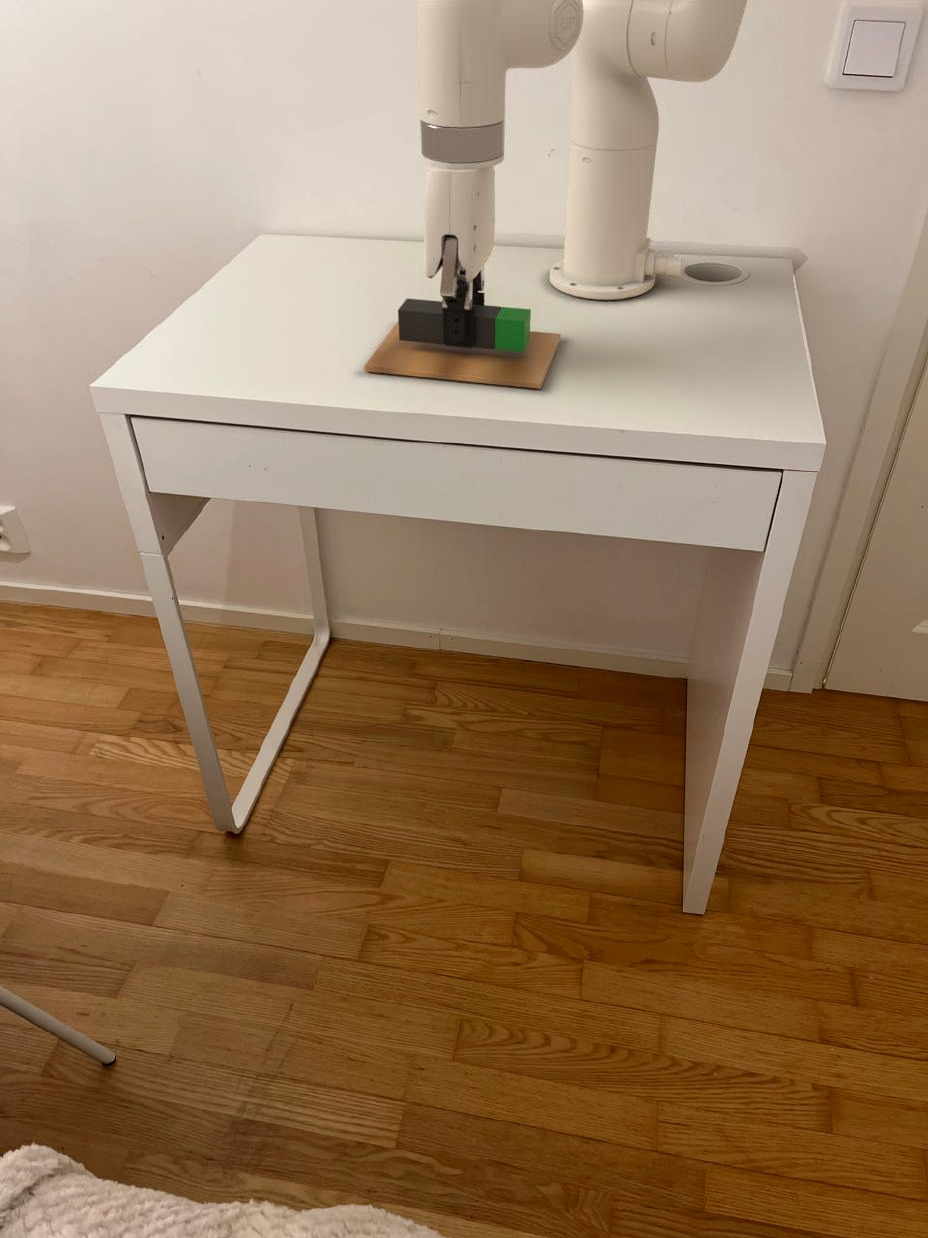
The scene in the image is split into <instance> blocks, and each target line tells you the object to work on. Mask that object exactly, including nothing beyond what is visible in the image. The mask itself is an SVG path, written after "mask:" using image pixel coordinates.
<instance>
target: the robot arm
mask: <svg viewBox="0 0 928 1238" xmlns="http://www.w3.org/2000/svg"><path fill="white" fill-rule="evenodd" d="M747 3H748V0H416V29H417V31H416V32H417V33H416V34H417V59H418V91H419V92H418V93H419V122H420V125H419V126H420V152H421V161H422V163H424V164H425V165H428V166H427V171H426V179H425V192H424V217H423V218H424V222H423V226H424V229H423V273H424V275H425V276H426V278H427V279H433V278H434V277H436V275H437V274H438V273H439V271H440V270H441V278H440V286H439V287H440V288H439V296H440V297H441V301H442V307H443V343H444V344H445V345H446V346H455V347H465V348H473V347H474V345H475V307H472V304H475V305H485V292H484V290H485V264H486V263H487V261H488V260H489V258H490V256H491V255H492V252H493V249H494V245H495V244H494V243H495V228H496V186H495V185H496V183H495V176H496V172H495V166H496V165H500V164H502V163H503V162H504V161H505V140H506V139H505V137H506V135H505V134H506V132H505V131H506V130H505V129H506V81H507V78H506V77H507V72H508V70H511V69H545V68H549V67H551V66H554V65H556V64H558V63H559V62H560V61H562V60H563V59H565V58H566V57H567V56H568V55H569V62H570V73H571V115H570V116H571V117H570V118H571V120H570V136H569V137H570V138H569V155H568V171H567V172H568V173H567V192H566V207H565V208H566V209H565V225H564V227H565V228H564V245H563V259H561V260H559V261H556V262H555V263H554V264H553V265H552V266H551V267H550V270H549V282H550V284H551V285H552V287H554V288H555V289H557V290H558V291H559V292H562V293H564V294H567V295H569V296H573V297H578V298H583V299H590V300H600V301H603V300H605V301H610V300H613V301H614V300H625V299H628V298H634V297H637V296H640V295H643V294H645V293H647V292H648V291H650V290H651V289H652V288H653V287H654V286H655V283H656V274H665V275H669V276H682V270H683V264H684V263H683V262H684V257H675V252H671V251H655V248H651V237H648V227H649V220H650V219H649V218H650V211H651V201H652V191H653V183H654V175H655V174H654V173H655V167H656V166H655V164H656V156H657V145H658V139H659V129H660V116H659V109H658V104H657V101H656V97H655V94H654V92H653V89H652V87H651V84H650V81H649V79H648V78H652V79H661V80H669V81H676V82H683V83H703V82H707V81H710V80H711V79H713V78H714V77H716V76H718V74H719V73H720V72H721V71H722V70H723V69H724V67H725V66H726V64H727V63H728V61H729V58H730V57H731V55H732V52H733V50H734V47H735V44H736V41H737V38H738V35H739V32H740V27H741V25H742V21H743V17H744V14H745V10H746V7H747ZM441 268H442V269H441Z"/></svg>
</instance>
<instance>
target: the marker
mask: <svg viewBox="0 0 928 1238" xmlns="http://www.w3.org/2000/svg"><path fill="white" fill-rule="evenodd" d="M472 307H475V345H474V347H475V348H486V349H498V350H508V351H518V352H524V350H525V348H526V346H527V344H528V342H529V339H530V331H531V319H532V318H531V317H532V316H531V315H532V313H531V312H532V310H531V309H530V308H520V307H508V306H499V305H498V306H497V305H486V304H484V305H475V304H472ZM397 319H398V321H399V340H402V341H413V342H423V343H434V344H444V343H443V307H442V300H441V301H440V300H429V299H428V300H427V299H419V298H406V299H405V300H404V301H403V303H402V304H401V305H400V306H399V308H398V309H397ZM398 321H397V322H398ZM444 345H445V344H444Z"/></svg>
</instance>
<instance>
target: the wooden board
mask: <svg viewBox="0 0 928 1238" xmlns="http://www.w3.org/2000/svg"><path fill="white" fill-rule="evenodd" d="M561 339H562V333H556V332H545V331H531V330H530V339H529V342H528V344H527V346H526V348H525V350H524V352H518V351H508V350H498V349H486V348H475V347H473V348H465V347H455V346H446V345H444V344H434V343H423V342H413V341H402V340H399V321H397V322H396V323H395V324H394V325H393V327H392V328H391V330H390V331H389V333H388V334H387V336H385V338H384V339H383V340H382V342H381V343H380V344H379V346H378V347H377V348H376V350H375V351H374V353H373V354H372V355H371V357H370V358H369V359H368V360H367V362H366V363H365V365H364V371H365V372H369V373H370V372H371V373H380V374H391V375H401V376H408V377H409V376H410V377H411V376H412V377H420V378H430V379H431V378H432V379H439V380H440V379H441V380H449V381H451V380H452V381H460V382H469V383H479V384H480V383H482V384H489V385H500V386H511V387H519V388H530V389H539V390H540V389H541V388H542V386H543V383H544V381H545V378H546V377H547V374H548V372H549V370H550V369H549V368H550V366H551V363H552V361H553V359H554V356H555V354H556V352H557V349H558V346H559V344H560V341H561Z"/></svg>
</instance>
